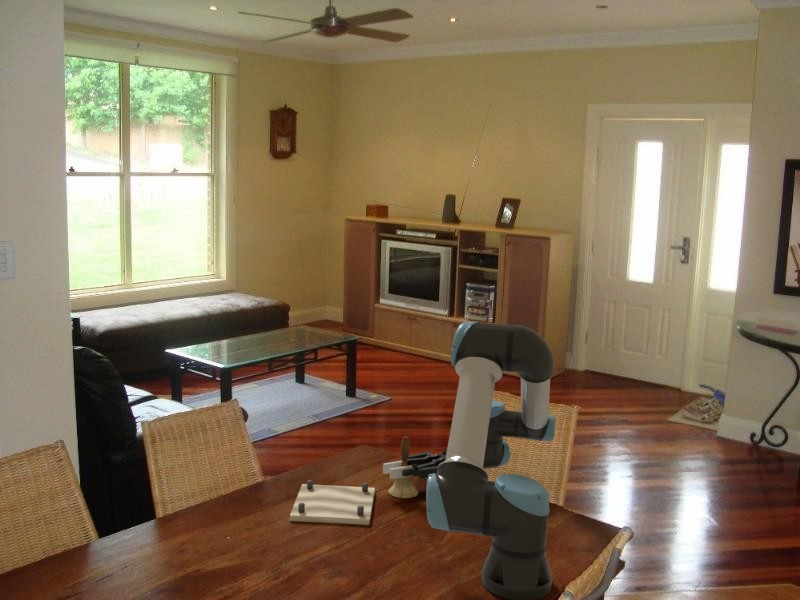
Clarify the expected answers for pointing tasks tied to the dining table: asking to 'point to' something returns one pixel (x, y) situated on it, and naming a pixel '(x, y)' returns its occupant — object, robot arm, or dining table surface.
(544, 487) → the robot arm
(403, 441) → the hand bell
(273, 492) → the dining table surface
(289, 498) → the dining table surface
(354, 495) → the board
